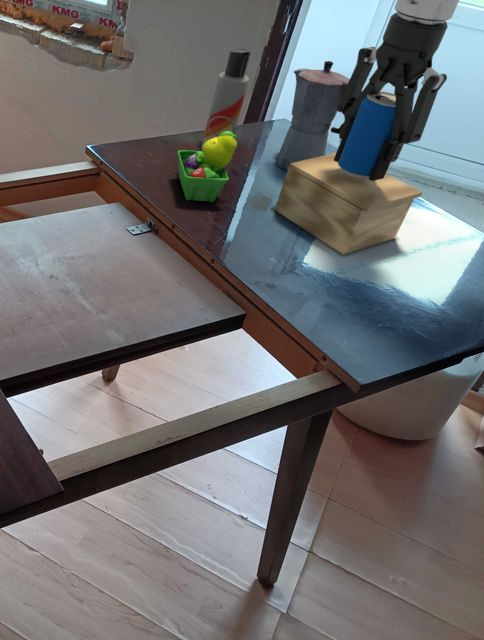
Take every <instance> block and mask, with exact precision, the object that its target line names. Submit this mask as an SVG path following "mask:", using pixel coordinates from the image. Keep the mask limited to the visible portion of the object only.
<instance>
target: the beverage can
mask: <svg viewBox="0 0 484 640" xmlns="http://www.w3.org/2000/svg"><path fill="white" fill-rule="evenodd" d="M375 96H376V97H375ZM395 101H396V95H395V94H394V93H392V92H387V91H382V90H381V91H380V92H379V93H377V94H372V95H370V94H369V93H368V95H367V97H366V98H365V99H363V101H362V102H361V105H360V107H359V110H358V112H357V115H356V117H355V120H354V123H353V125H352V128H351V130H350V133H349V136H348V138H347V141H346V143H345V146H344V148H343V151H342V154H341V156H340V159H339V161H338V165H339V166H340V168H341V170H342V171H343V172H344V173H345V174H347V175H349V176H352V177H356V178H362V179H367V178H369V177H370V174H371V172H372V169H373V167H374V165H375V162H376V160H377V158H378V155H379V153H380V151H381V148H382V146H383V144H384V141H385V140H387V139H391V135H392V126H393V119H394V116H395V107H396V105H395Z"/></svg>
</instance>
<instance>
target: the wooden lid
mask: <svg viewBox="0 0 484 640" xmlns="http://www.w3.org/2000/svg"><path fill="white" fill-rule="evenodd" d="M335 155H336V152H334V153H329V154H325V156H320V157H316V158H311V159H307V160H303V161H298V162H294V163H290V166H289V168H291V169H292V170H294V171H296V172H298V173H300V174H301V175H303V176H305V177H307V178H308V179H310V180H312V181H314V182H315V183H317V184H319V185H321V186H322V187H324V188H326V189H328V190H330V191H331V192H333V193H335V194H337V195H338V196H340V197H342V198H344V199H345V200H347V201H349V202H351V203H352V204H354V205H356V206H358V207H359V208H361V209H363V210H365V211H367V212H368V211H372V210H375V209H379V208H382V207H386V206H389V205H393V204H396V203H400V202H403V201H407V200H410V199H417V198H420V197H421V196H422V195H423V192H422V191H420V190H419V189H416V188H414V187H412V186H411V185H409V184H407V183H405V182H403V181H401V180H399V179H397V178H395V177H393V176H391V175H389V174H387V173H386V174H385V176H384V178H383V179H379V180H375V181H371V180H369V178H367V179H362V178H356V177H352V176H349V175H347V174H345V173H344V172H343V171H342V170H341V168H340V166H339V165H338V162H336V161H334V158H335Z"/></svg>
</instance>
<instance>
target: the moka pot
mask: <svg viewBox="0 0 484 640" xmlns="http://www.w3.org/2000/svg"><path fill="white" fill-rule="evenodd" d="M333 65H334V62H333V61H330V60H326V61H324V64H323V69H311V68H298V69H296V70H294V71H293V73H294V74H295V88H294V96H293V102H292V107H291V115H292V117H291V121H290V126H289V128H288V129H287V132H286V135H285V137H284V140H283V142H282V145H281V147H280V149H279V152H278V154H277V156H276V158H275V163H276V164H277V166H278V167H280V168H281V169H283V170H286V171H288V168H289V166H290V163H294V162H298V161H303V160H307V159H311V158H316V157H320V156H325V155H326V149H327V144H328V139H329V133H330V132H331V133H333V134H336V135H339V134H340V131H341V129H342V126H343V123H341V125H340V126H339V127H335V126H332V122H333V121H334V119H335V118H336V116H337V114H338V110H337V107H338V104H339V102H340V100H341V98H342V96H343V93H344V91H345V89H346V87H347V85H348V82H349V80H350V78H349V77H347V76H345V75H343V74H342V73H340V72H337V71H333V70H332V68H333ZM362 91H363V90H362ZM362 91H361V92H362ZM360 94H361V93H360ZM331 126H332V127H331ZM329 131H330V132H329Z"/></svg>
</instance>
